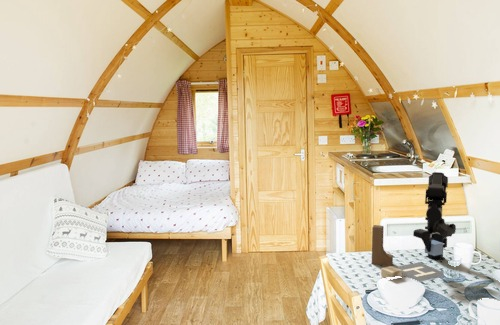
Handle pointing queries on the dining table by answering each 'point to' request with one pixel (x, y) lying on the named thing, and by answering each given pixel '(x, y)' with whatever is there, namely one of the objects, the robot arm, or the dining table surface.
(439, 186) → the robot arm
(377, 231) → the wooden block
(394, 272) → the birch block
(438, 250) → the blue cube
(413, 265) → the letter board
